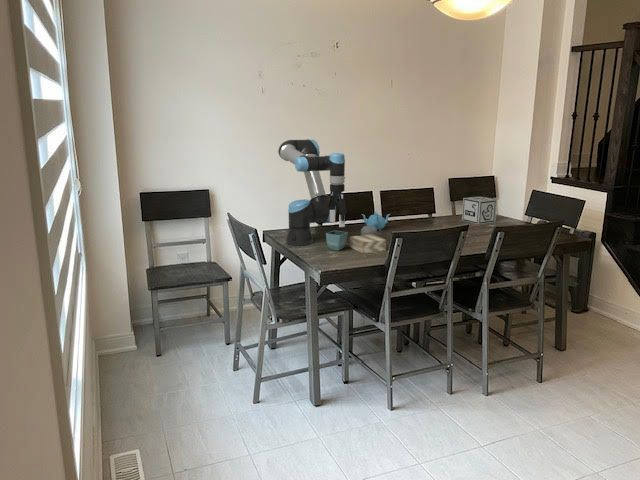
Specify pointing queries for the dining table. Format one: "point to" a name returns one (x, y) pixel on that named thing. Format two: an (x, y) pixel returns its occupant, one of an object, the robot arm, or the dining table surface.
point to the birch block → (367, 243)
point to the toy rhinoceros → (368, 230)
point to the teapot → (376, 221)
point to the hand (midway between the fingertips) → (337, 224)
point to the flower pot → (336, 240)
